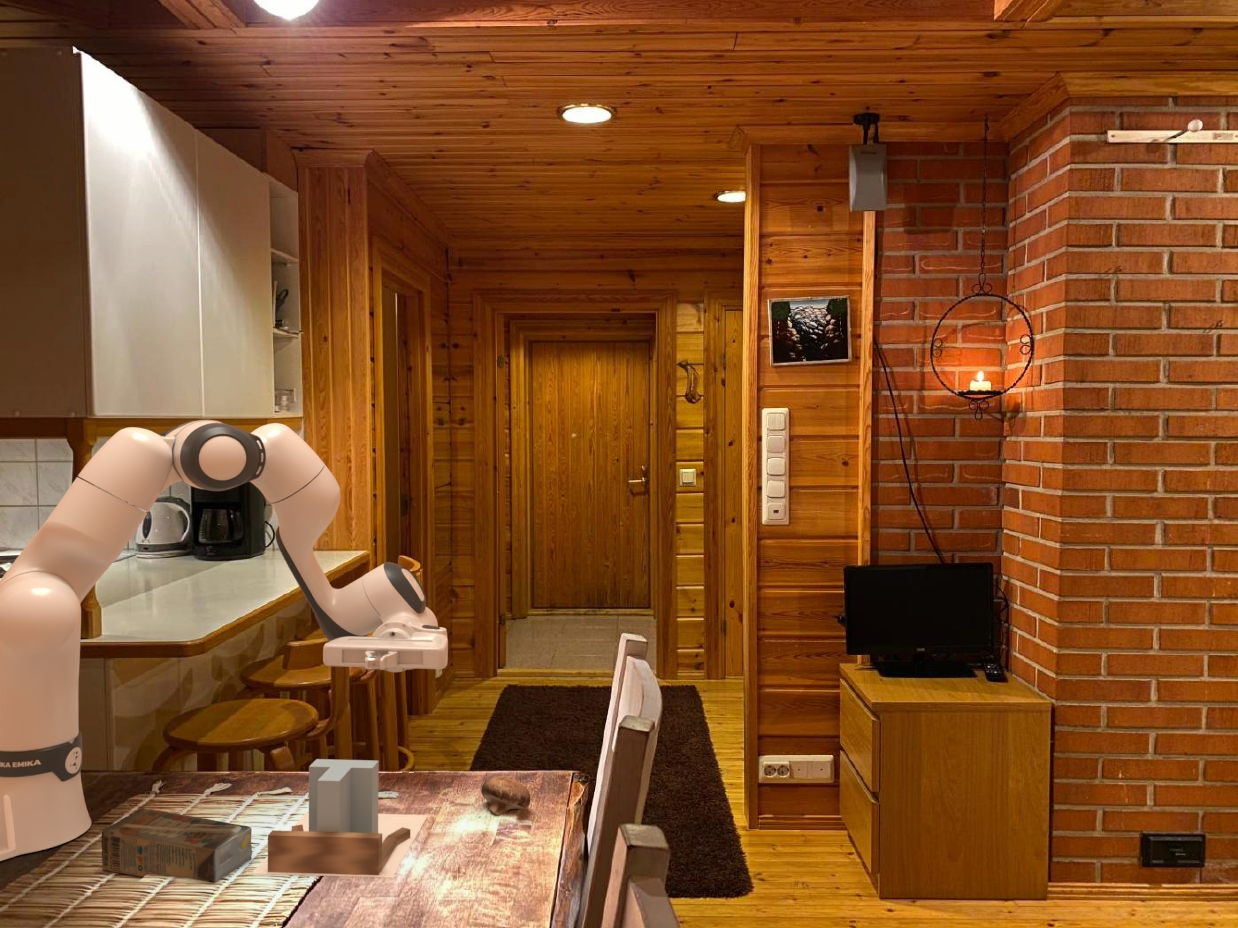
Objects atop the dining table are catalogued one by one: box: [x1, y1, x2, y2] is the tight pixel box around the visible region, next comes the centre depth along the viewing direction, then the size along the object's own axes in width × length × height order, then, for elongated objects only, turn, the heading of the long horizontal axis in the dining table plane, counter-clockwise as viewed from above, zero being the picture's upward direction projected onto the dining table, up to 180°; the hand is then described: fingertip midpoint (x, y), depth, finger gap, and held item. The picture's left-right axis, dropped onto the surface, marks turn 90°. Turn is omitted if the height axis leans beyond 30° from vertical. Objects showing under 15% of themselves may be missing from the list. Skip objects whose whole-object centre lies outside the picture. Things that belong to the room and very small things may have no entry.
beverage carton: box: [101, 807, 253, 884], centre depth 125 cm, size 8×19×6 cm, turn 75°
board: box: [250, 811, 429, 879], centre depth 131 cm, size 19×20×1 cm
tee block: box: [308, 758, 380, 833], centre depth 127 cm, size 9×8×12 cm
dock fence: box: [267, 825, 410, 875], centre depth 128 cm, size 18×12×5 cm
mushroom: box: [480, 776, 531, 817], centre depth 145 cm, size 8×8×6 cm
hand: (373, 664), depth 144 cm, fingers closed
